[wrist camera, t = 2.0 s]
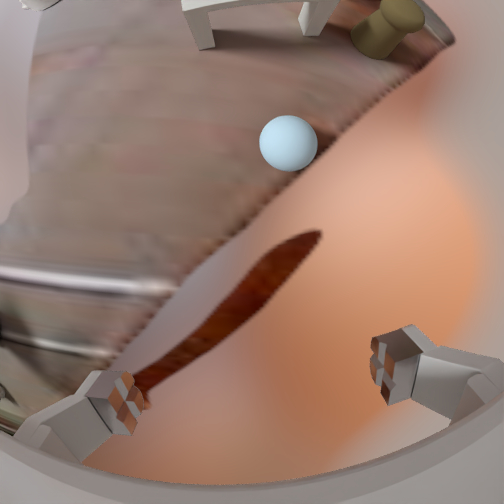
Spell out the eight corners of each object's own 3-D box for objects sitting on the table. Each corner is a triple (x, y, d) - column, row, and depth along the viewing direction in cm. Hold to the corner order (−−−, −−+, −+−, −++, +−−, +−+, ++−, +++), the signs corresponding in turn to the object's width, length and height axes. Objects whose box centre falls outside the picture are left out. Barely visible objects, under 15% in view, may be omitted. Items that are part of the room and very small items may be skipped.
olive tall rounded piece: (358, 58, 26) (397, 24, 15) (344, 22, 24) (376, -18, 13) (395, 60, 25) (440, 33, 15) (382, 26, 24) (419, -8, 13)
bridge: (196, 32, 24) (180, -8, 15) (312, 18, 24) (332, -21, 15) (199, 50, 25) (182, 11, 16) (318, 35, 25) (341, -3, 16)
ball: (253, 125, 28) (255, 114, 23) (304, 118, 28) (317, 106, 22) (263, 175, 30) (267, 176, 24) (314, 167, 30) (329, 166, 24)
